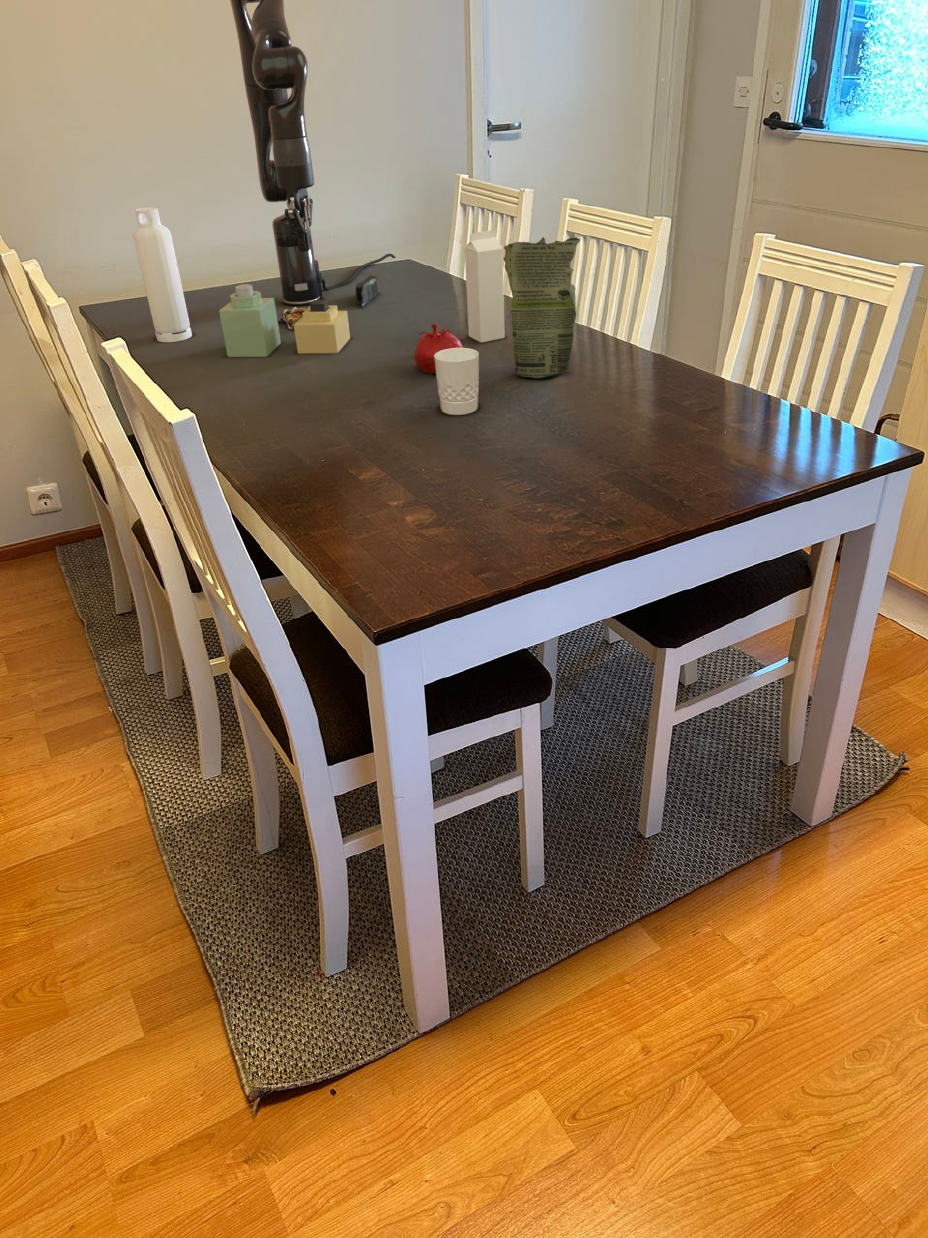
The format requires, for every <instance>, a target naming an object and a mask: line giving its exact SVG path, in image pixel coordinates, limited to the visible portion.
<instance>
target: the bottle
mask: <svg viewBox="0 0 928 1238" xmlns="http://www.w3.org/2000/svg"><path fill="white" fill-rule="evenodd" d="M134 211H135V214H136V220H137V224H138V227H137V228H136V229H135V231H133V236H132V237H133V241H134V245H135V250H136V255H137V258H138V262H139V267H140V271H141V277H142V280H143V286H144V290H145V293H146V298H147V302H148V307H149V311H150V315H151V319H152V324H153V328H154V330H155V332H154V333H155V336H156V340H157V342H160V343H176V342H183V341H186V340H187V339H190V338H192V337H193V333H192V327H190V325H191V322H190V318H189V314H188V309H187V303H186V299H185V295H184V290H183V284H182V279H181V274H180V271H179V270H180V269H179V265H178V260H177V256H176V252H175V251H176V250H175V246H174V241H173V237H172V232H171V231H170V229H169V228H168V227H167V226H165V225H163V224H162V222H161V218H160V212H159V208H158V207H157V206H147V207H139V208H136V209H135V210H134ZM146 214H148V216H146Z"/></svg>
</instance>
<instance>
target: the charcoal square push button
mask: <svg viewBox="0 0 928 1238" xmlns="http://www.w3.org/2000/svg"><path fill="white" fill-rule="evenodd" d="M329 306H330V305H329V300H328V299H320V300H314V301H313V302H312V303H310V304H309V307H310V310H311V312H326V311H327V310H328V309H329Z"/></svg>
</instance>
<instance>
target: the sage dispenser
mask: <svg viewBox="0 0 928 1238" xmlns="http://www.w3.org/2000/svg"><path fill="white" fill-rule="evenodd" d="M253 293H254V295H252V296H248V297H237V294H236V292H234V293H231V294H230V295H229V302H228V303H227V304H226V305H224V306H223V307H221V308H220V309H219V310H218V314H219V319H220V323H221V328H222V329H221V330H222V335H223V339H224V345H225V350H226V355H227V356H226V357H227V358H247V357H248V358H254V357H255V358H259V357H261V358H264V357H266V358H267V357H269V355H270V354H271V353H273V352H274V351H275V350H276V348H278V347H279V346H280V345H281V344H282V341H281V340H282V339H281V334H280V328H279V322H278V321H279V320H278V315H277V308H276V302H275V298H274V297H262V293H261V292H260V291H258V290H253Z"/></svg>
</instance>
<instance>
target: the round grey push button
mask: <svg viewBox="0 0 928 1238" xmlns="http://www.w3.org/2000/svg"><path fill="white" fill-rule="evenodd" d="M253 291H254V287H253V284H250V283H244V284H239V285H236V286H235V293H236V294H237V297H248V296H252V295H254V293H253Z"/></svg>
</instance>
